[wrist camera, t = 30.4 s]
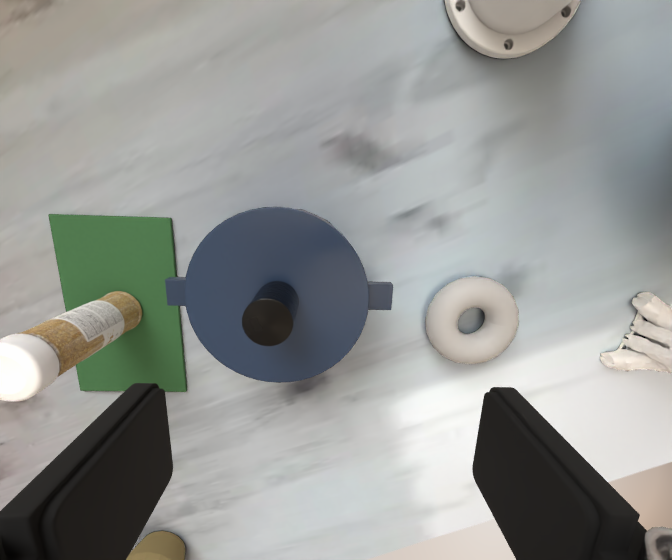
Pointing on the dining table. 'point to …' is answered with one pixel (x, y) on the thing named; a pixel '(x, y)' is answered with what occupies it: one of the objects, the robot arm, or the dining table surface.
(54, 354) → the sprinkles bottle
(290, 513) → the dining table surface
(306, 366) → the lid
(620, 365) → the seated beast figurine
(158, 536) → the squeeze bottle
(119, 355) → the green flat rectangular board
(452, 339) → the donut
